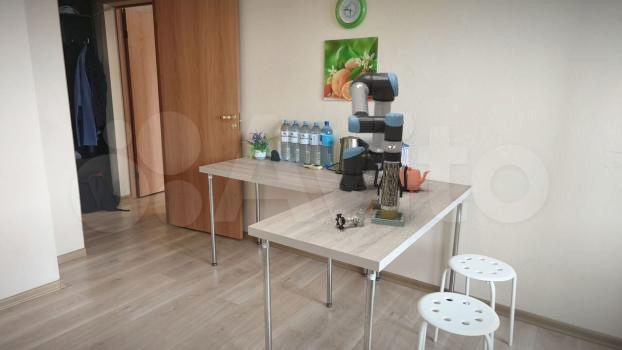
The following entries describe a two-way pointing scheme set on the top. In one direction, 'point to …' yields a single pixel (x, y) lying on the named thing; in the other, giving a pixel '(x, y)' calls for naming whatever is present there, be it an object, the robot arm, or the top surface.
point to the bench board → (374, 210)
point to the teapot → (412, 178)
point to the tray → (387, 221)
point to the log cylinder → (390, 190)
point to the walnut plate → (374, 205)
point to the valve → (351, 219)
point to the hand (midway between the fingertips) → (389, 203)
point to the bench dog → (378, 205)
